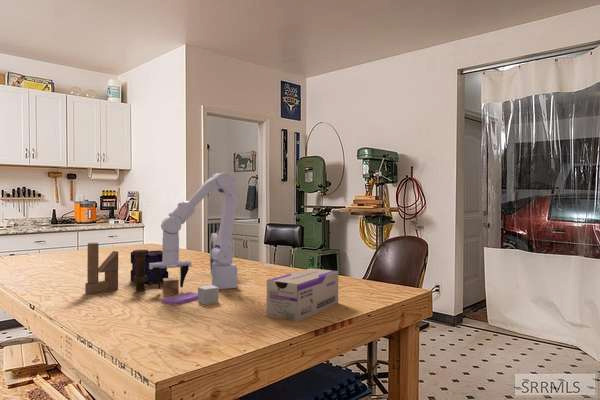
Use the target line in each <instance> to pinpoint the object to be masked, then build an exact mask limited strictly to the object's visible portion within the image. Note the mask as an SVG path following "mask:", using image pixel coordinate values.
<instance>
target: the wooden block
mask: <svg viewBox="0 0 600 400" xmlns="http://www.w3.org/2000/svg"><path fill="white" fill-rule="evenodd" d="M99 248H100V247H99V242H88V243H87V269H86V270H87V272H86V273H87V279H86V281H87V282H86V283H85V284H84V285H85V286H84V287H85V289H84V291H85V293H86V294H89V295H93V294H98V293H103V292H108V291H110V290H111V291H116V290H118V289H119V251H117V250H113V251H112V252H110V253H109V255H108V256H107V258H106V259H104V261H103V262H101V264H100V265H99V258H100V257H99V256H100V255H99V251H100V250H99ZM100 273H101V274H102V273H104V280H99V274H100ZM115 289H116V290H115Z"/></svg>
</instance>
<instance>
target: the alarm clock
mask: <svg viewBox="0 0 600 400" xmlns="http://www.w3.org/2000/svg"><path fill="white" fill-rule="evenodd" d="M218 233H219V230H216V232H215V233H214V232H212V233H211V235H210V241H209V253H210V252H211V250H212V248H213V247H214V244H215V241H216V240H217V238H218ZM212 262H213V260H212V258H211V256H210V255H209V266H210V268H209V269H210V270H209V271H210V275H211V276H212ZM231 264H233V260H232V261H231Z"/></svg>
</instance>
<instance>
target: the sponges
mask: <svg viewBox="0 0 600 400" xmlns="http://www.w3.org/2000/svg"><path fill="white" fill-rule="evenodd" d="M196 300H197V301H198V292H192V291H191V292H190V291H189V292H188V291H187V292H185V293H181V294H174V295H173V296H172V295H171V296H168V297H167V296H166V297H163V298H161V303H163V304H169V305H174V306H179V305H182V304H186V303H189V302H193V301H196Z"/></svg>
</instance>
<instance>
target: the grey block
mask: <svg viewBox="0 0 600 400" xmlns="http://www.w3.org/2000/svg"><path fill="white" fill-rule="evenodd" d="M219 290H220V289H219V288H218V287H216V286H213V285H211V284H209V285H203V286H202V285H201V286H197V293H198V299H197V302H198V303H200V304H201V305H204V306H206V305H211V304H212V305H213V304H217V303H219V295H220V293H219V292H220V291H219Z"/></svg>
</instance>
